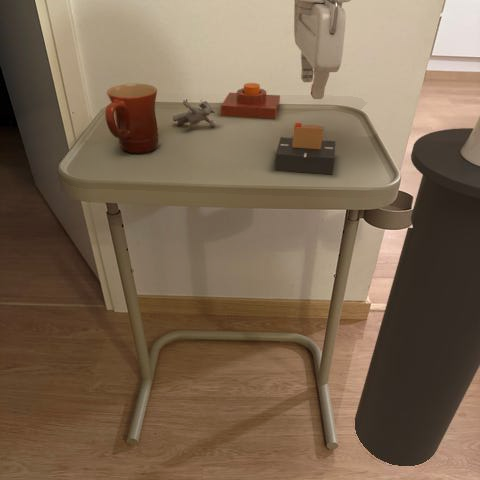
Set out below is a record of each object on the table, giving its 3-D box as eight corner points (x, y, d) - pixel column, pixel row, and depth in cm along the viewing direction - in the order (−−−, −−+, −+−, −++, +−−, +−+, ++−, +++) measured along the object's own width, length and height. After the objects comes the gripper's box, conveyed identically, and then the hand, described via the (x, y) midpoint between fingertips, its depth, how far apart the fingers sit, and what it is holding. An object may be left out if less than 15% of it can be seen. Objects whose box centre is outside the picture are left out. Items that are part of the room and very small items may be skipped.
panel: (333, 155, 86) (335, 138, 84) (332, 176, 80) (335, 158, 78) (279, 152, 88) (281, 135, 86) (274, 171, 81) (275, 154, 79)
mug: (134, 136, 93) (126, 81, 86) (171, 144, 90) (166, 87, 83) (96, 158, 85) (84, 98, 78) (136, 166, 82) (127, 105, 75)
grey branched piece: (194, 118, 102) (226, 110, 96) (190, 145, 101) (222, 137, 96) (161, 94, 94) (194, 84, 88) (157, 123, 93) (190, 113, 88)
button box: (279, 105, 109) (280, 86, 106) (274, 119, 102) (275, 99, 99) (229, 102, 111) (229, 84, 108) (221, 115, 103) (220, 96, 100)
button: (260, 91, 105) (260, 83, 104) (258, 96, 102) (258, 87, 101) (244, 90, 105) (245, 82, 104) (242, 95, 103) (242, 86, 101)
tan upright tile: (321, 146, 82) (323, 124, 79) (320, 149, 81) (323, 127, 78) (292, 144, 82) (294, 122, 80) (292, 147, 81) (293, 125, 79)
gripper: (363, -6, 59) (345, 109, 68) (329, -23, 74) (318, 73, 83) (313, -6, 58) (302, 109, 67) (290, -23, 74) (284, 73, 83)
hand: (311, 89), depth 75 cm, fingers open, 8 cm apart
